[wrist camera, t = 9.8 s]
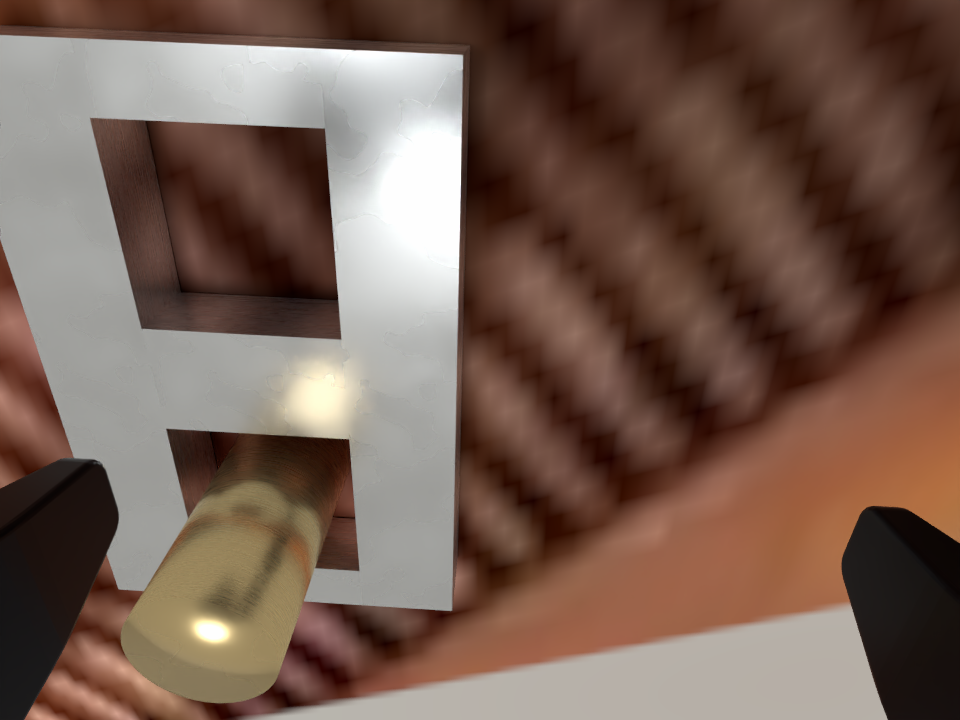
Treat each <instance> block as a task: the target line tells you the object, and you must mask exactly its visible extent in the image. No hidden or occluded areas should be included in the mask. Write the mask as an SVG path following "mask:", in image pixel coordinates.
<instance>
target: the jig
mask: <svg viewBox="0 0 960 720" xmlns="http://www.w3.org/2000/svg"><path fill="white" fill-rule="evenodd" d="M469 75H470V45H458V44H434V43H411V42H387V41H364V40H340V39H317V38H293V37H270V36H246V35H223V34H199V33H176V32H152V31H129V30H105V29H82V28H58V27H35V26H11V25H1V26H0V240H1V243H2V246H3V249H4V252H5V255H6V258H7V261H8V264H9V267H10V269H11V272H12V275H13V278H14V281H15V284H16V287H17V290H18V293H19V296H20V299H21V302H22V305H23V308H24V311H25V314H26V317H27V320H28V323H29V326H30V329H31V332H32V334H33V337H34V340H35V343H36V346H37V349H38V352H39V355H40V358H41V361H42V364H43V367H44V370H45V373H46V376H47V379H48V382H49V385H50V388H51V391H52V394H53V397H54V399H55V402H56V405H57V408H58V411H59V414H60V417H61V420H62V423H63V426H64V429H65V432H66V435H67V438H68V441H69V444H70V447H71V450H72V453H73V456H74V458H82V459H95V460H97V461H100V462H101V463H102V464H103V465H104V467H105V469H106V471H107V475H108V478H109V481H110V484H111V487H112V491H113V494H114V497H115V500H116V504H117V507H118V511H119V523H118V528H117V531H116V534H115V536H114V538H113V540H112V543H111V545H110V547H109V549H108V552H107V556H108V559H109V562H110V565H111V568H112V571H113V574H114V577H115V580H116V583H117V586H118V589H123V590H138V591H144V590H145V588H146V587H147V585H148V584H149V582H150V580H151V579H152V577H153V575H154V574H155V572H156V570H157V569H158V567H159V566H160V564H161V562H162V561H163V559H164V557H165V556H166V554H167V552H168V551H169V549H170V548H171V546H172V544H173V543H174V541H175V539H176V538H177V536H178V534H179V533H180V531H181V530H182V528H183V526H184V525H185V523H186V521H187V520H188V518H189V516H190V515H191V513H192V512H193V510H194V508H195V507H196V505H197V503H198V502H199V500H200V498H201V497H202V495H203V494H204V492H205V490H206V489H207V487H208V485H209V484H210V482H211V480H212V479H213V477H214V476H215V474H216V472H217V471H218V470H217V465H216V460H215V455H214V450H213V446H212V441H211V436H210V431H215V432H233V433H250V434H267V435H284V436H301V437H318V438H335V439H349V442H350V455H351V468H352V480H353V493H354V506H355V519H352V518H336V517H333V518H332V521H331V523H330V526H329V529H328V532H327V535H326V538H325V541H324V544H323V547H322V549H321V552H320V555H319V558H318V561H317V564H316V567H315V570H314V573H313V576H312V578H311V581H310V584H309V587H308V590H307V593H306V596H305V599H304V601H308V602H323V603H338V604H354V605H369V606H385V607H400V608H416V609H431V610H446V611H452V606H453V596H454V587H455V577H456V568H457V558H458V520H459V480H460V439H461V399H462V358H463V318H464V277H465V237H466V196H467V156H468V115H469ZM146 120H149V121H171V122H192V123H214V124H236V125H257V126H279V127H301V128H323V129H325V135H326V148H327V161H328V173H329V186H330V199H331V212H332V225H333V237H334V250H335V263H336V276H337V289H338V300H320V299H301V298H282V297H263V296H245V295H226V294H207V293H188V292H181V290H180V285H179V280H178V276H177V271H176V266H175V261H174V256H173V251H172V246H171V242H170V237H169V232H168V227H167V222H166V217H165V213H164V208H163V203H162V198H161V193H160V188H159V183H158V179H157V174H156V169H155V164H154V159H153V154H152V149H151V145H150V140H149V135H148V130H147V125H146Z"/></svg>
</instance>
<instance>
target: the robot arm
mask: <svg viewBox="0 0 960 720" xmlns="http://www.w3.org/2000/svg"><path fill="white" fill-rule="evenodd" d="M118 523H119V511H118V507H117V504H116V500H115V497H114V494H113V491H112V487H111V484H110V481H109V478H108V475H107V471H106V469H105V467H104V465H103V464H102V463H101V462H100V461H97V460H95V459H82V458H63V459H60V460H58V461H56V462H53V463H51V464H49V465H47V466H45V467H43V468H41V469H39V470H37V471H35V472H33V473H31V474H29V475H27V476H25V477H23V478H21V479H19V480H17V481H15V482H13V483H11V484H9V485H7V486H5V487H3V488H1V489H0V720H24V719H25V717H26V716H27V714H28V712H29V710H30V709H31V707H32V705H33V703H34V701H35V700H36V698H37V696H38V694H39V693H40V691H41V689H42V687H43V686H44V684H45V682H46V680H47V679H48V677H49V675H50V673H51V672H52V670H53V668H54V666H55V664H56V662H57V660H58V659H59V657H60V655H61V653H62V651H63V649H64V647H65V645H66V643H67V641H68V639H69V637H70V635H71V633H72V631H73V629H74V626H75V624H76V622H77V620H78V617H79V615H80V613H81V611H82V608H83V606H84V604H85V602H86V599H87V597H88V595H89V592H90V590H91V588H92V586H93V583H94V581H95V579H96V577H97V574H98V572H99V570H100V568H101V565H102V563H103V561H104V559H105V556H106V554H107V552H108V549H109V547H110V545H111V543H112V540H113V538H114V536H115V534H116V531H117V528H118ZM842 575H843V579H844V583H845V586H846V589H847V593H848V596H849V599H850V603H851V606H852V609H853V613H854V616H855V619H856V623H857V626H858V629H859V632H860V636H861V639H862V642H863V646H864V649H865V652H866V656H867V659H868V662H869V666H870V669H871V672H872V676H873V679H874V682H875V685H876V688H877V691H878V694H879V697H880V700H881V703H882V705H883V708H884V711H885V713H886V716H887V719H888V720H960V543H958V542H957V541H955V540H954V539H952V538H951V537H949V536H948V535H946V534H945V533H943V532H942V531H940V530H938V529H937V528H935V527H934V526H932V525H931V524H929V523H928V522H926V521H925V520H923V519H922V518H920V517H919V516H917V515H915V514H914V513H912V512H911V511H909V510H907V509H904V508H899V507H883V506H871V507H867V508H866V509H865V510H863V511H862V513H861V514H860V516H859V519H858V521H857V523H856V526H855V528H854V530H853V533H852V535H851V537H850V540H849V542H848V544H847V547H846V549H845V552H844V554H843V558H842Z"/></svg>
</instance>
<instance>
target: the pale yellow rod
mask: <svg viewBox="0 0 960 720" xmlns="http://www.w3.org/2000/svg"><path fill="white" fill-rule="evenodd" d="M348 471H349V455H348V452H347V449H346V447H345V445H344V443H343V441H342V440H341V439H335V438H318V437H301V436H284V435H267V434H250V433H240V435H239V436H238V438H237V440H236V441H235V443H234V445H233V446H232V448H231V449H230V451H229V453H228V454H227V456H226V458H225V459H224V461H223V463H222V464H221V466H220V467H219V469H218V471H217V472H216V474H215V476H214V477H213V479H212V480H211V482H210V484H209V485H208V487H207V489H206V490H205V492H204V494H203V495H202V497H201V498H200V500H199V502H198V503H197V505H196V507H195V508H194V510H193V512H192V513H191V515H190V516H189V518H188V520H187V521H186V523H185V525H184V526H183V528H182V530H181V531H180V533H179V534H178V536H177V538H176V539H175V541H174V543H173V544H172V546H171V548H170V549H169V551H168V552H167V554H166V556H165V557H164V559H163V561H162V562H161V564H160V566H159V567H158V569H157V570H156V572H155V574H154V575H153V577H152V579H151V580H150V582H149V584H148V585H147V587H146V588H145V590H144V592H143V593H142V595H141V597H140V598H139V600H138V601H137V603H136V605H135V606H134V608H133V610H132V611H131V613H130V615H129V616H128V618H127V619H126V621H125V623H124V625H123V627H122V631H121V644H122V648H123V650H124V653H125V655H126V657H127V658H128V660H129V661H130V663H131V664H132V665H133V666H134V668H135V669H136V670H137V671H138V672H140V673H141V674H142V675H143V676H144V677H145V678H147V679H148V680H149V681H151V682H153V683H154V684H156V685H157V686H159V687H161V688H163V689H165V690H167V691H169V692H172V693H174V694H176V695H179V696H182V697H185V698H189V699H193V700H198V701H203V702H212V703H233V702H239V701H244V700H248V699H251V698H254V697H256V696H258V695H260V694H262V693H264V692H265V691H267V690H268V689H269V688H270V687H271V686H272V685H273V684H274V682H275V681H276V679H277V677H278V674H279V671H280V668H281V665H282V663H283V660H284V657H285V654H286V651H287V648H288V645H289V642H290V639H291V636H292V634H293V631H294V628H295V625H296V622H297V619H298V616H299V613H300V610H301V607H302V605H303V602H304V599H305V596H306V593H307V590H308V587H309V584H310V581H311V578H312V576H313V573H314V570H315V567H316V564H317V561H318V558H319V555H320V552H321V549H322V547H323V544H324V541H325V538H326V535H327V532H328V529H329V526H330V523H331V521H332V518H333V515H334V512H335V509H336V506H337V503H338V500H339V497H340V494H341V492H342V489H343V486H344V483H345V480H346V477H347V474H348Z"/></svg>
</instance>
